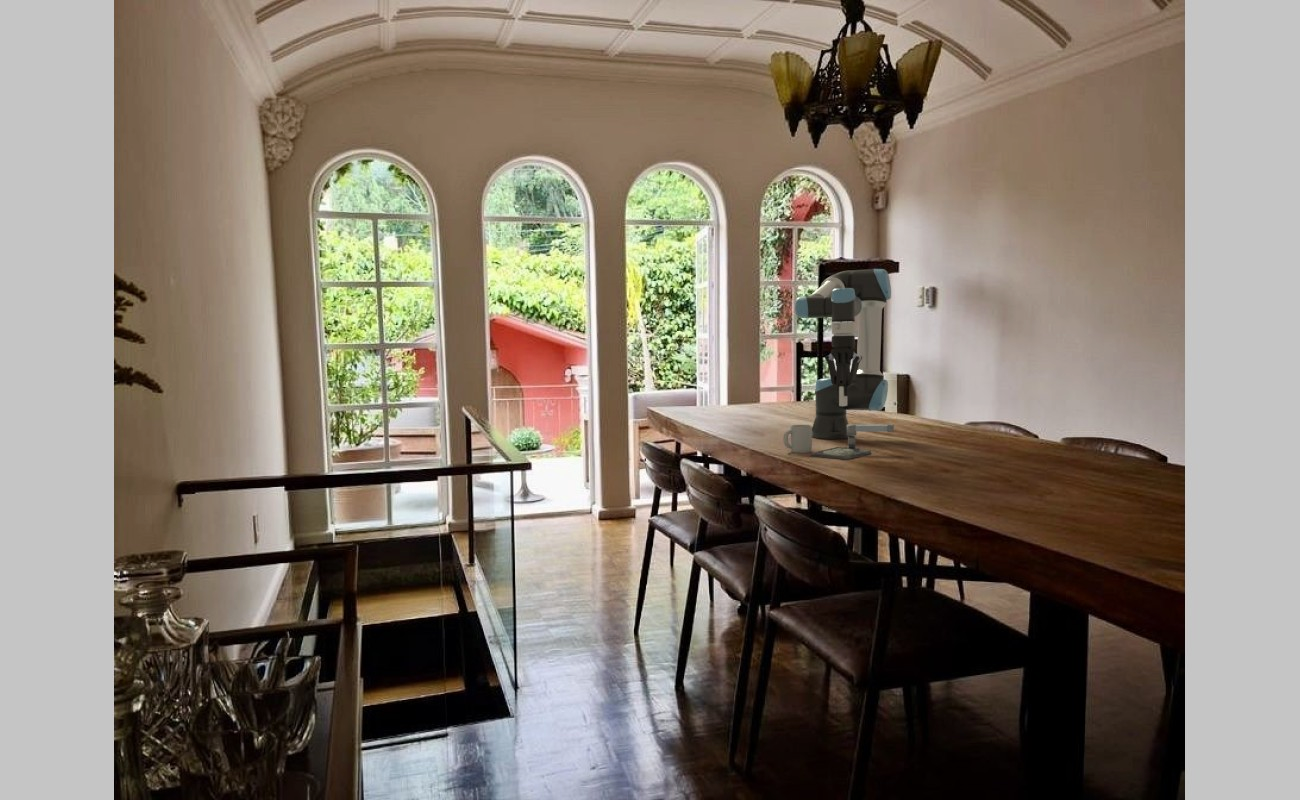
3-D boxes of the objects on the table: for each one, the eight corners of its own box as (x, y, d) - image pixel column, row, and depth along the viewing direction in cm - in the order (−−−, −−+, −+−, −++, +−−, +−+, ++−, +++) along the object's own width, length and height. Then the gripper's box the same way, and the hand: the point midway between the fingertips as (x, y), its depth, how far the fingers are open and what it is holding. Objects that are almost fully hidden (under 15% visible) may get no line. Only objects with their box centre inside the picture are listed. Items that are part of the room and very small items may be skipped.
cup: (814, 452, 276) (814, 426, 275) (786, 453, 275) (786, 427, 274) (808, 449, 283) (808, 424, 282) (780, 450, 282) (780, 425, 281)
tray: (837, 449, 281) (837, 434, 280) (871, 453, 272) (871, 437, 271) (811, 455, 269) (811, 439, 268) (846, 459, 260) (846, 442, 259)
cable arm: (846, 435, 273) (846, 425, 273) (846, 434, 276) (846, 423, 276) (893, 435, 270) (893, 425, 269) (893, 434, 273) (893, 424, 273)
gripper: (820, 335, 269) (820, 405, 271) (854, 335, 260) (854, 407, 262) (832, 334, 274) (832, 403, 277) (866, 334, 265) (866, 405, 267)
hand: (843, 405), depth 269 cm, fingers closed
